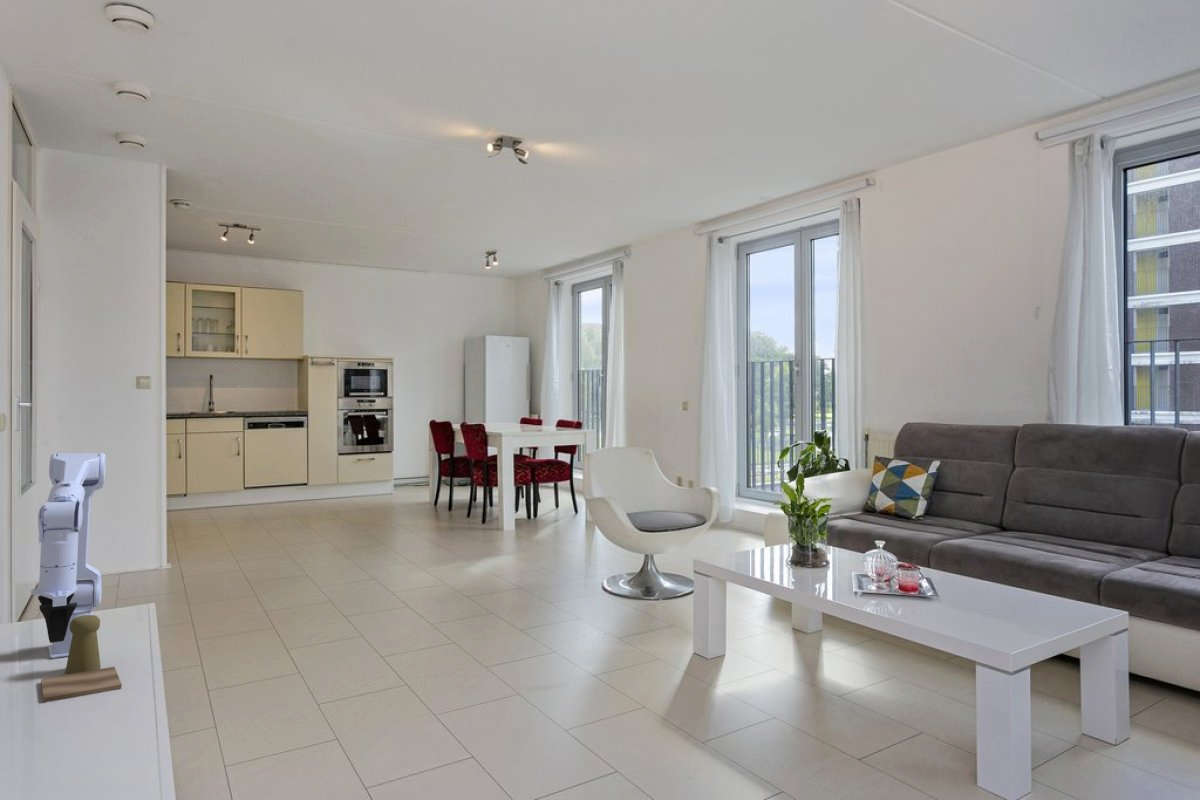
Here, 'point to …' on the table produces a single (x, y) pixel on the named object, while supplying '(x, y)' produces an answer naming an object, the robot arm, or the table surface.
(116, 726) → the table surface
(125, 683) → the table surface
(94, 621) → the cork
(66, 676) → the light brown board
